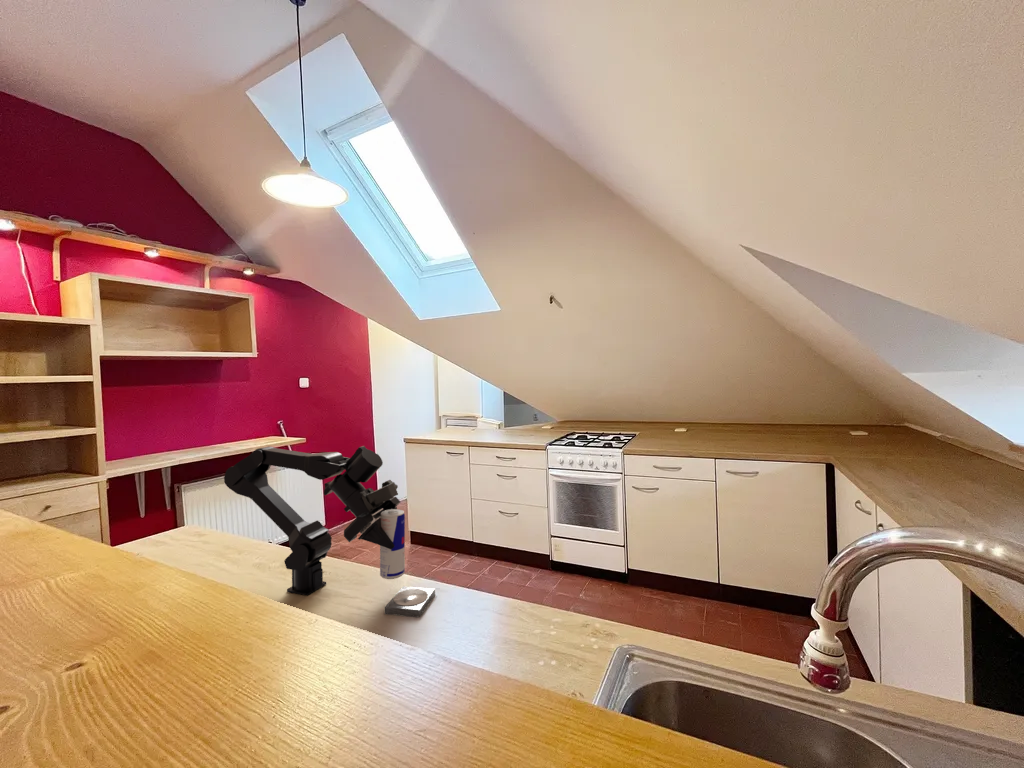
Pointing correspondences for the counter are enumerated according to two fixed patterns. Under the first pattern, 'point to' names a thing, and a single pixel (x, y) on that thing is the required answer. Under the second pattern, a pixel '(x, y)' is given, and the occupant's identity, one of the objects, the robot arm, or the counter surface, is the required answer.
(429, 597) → the plate
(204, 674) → the counter surface
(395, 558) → the beverage can
